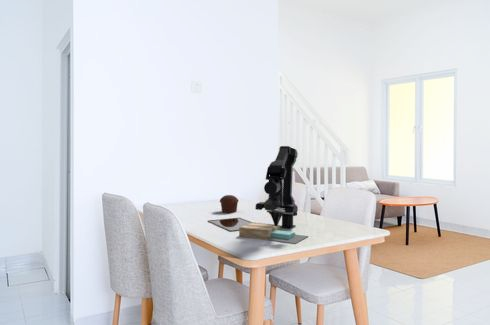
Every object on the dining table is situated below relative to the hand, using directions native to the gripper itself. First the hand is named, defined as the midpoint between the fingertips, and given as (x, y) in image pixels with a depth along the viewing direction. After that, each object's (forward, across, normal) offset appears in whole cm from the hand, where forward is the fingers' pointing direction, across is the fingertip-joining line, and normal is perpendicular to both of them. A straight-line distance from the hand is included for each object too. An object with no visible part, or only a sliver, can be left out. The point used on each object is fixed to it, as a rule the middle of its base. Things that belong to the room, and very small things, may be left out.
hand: (276, 226), depth 192 cm
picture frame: (+6, -30, +15) cm, 34 cm away
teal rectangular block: (+5, +3, 0) cm, 6 cm away
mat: (+5, +6, 0) cm, 8 cm away
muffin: (+5, -53, +46) cm, 70 cm away
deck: (+5, -8, 0) cm, 10 cm away
